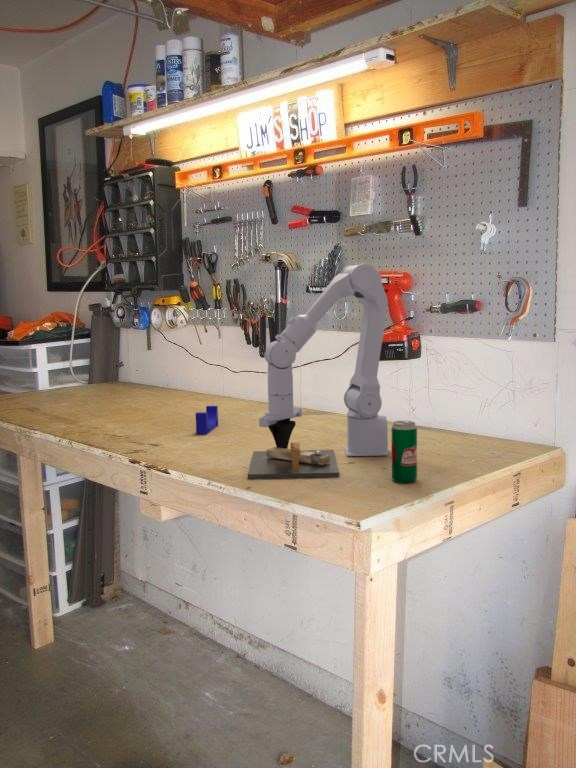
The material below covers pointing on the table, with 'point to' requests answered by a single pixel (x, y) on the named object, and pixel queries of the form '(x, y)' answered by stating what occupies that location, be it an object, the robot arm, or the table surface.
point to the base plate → (291, 465)
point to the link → (303, 457)
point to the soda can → (404, 451)
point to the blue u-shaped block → (207, 420)
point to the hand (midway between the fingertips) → (282, 452)
